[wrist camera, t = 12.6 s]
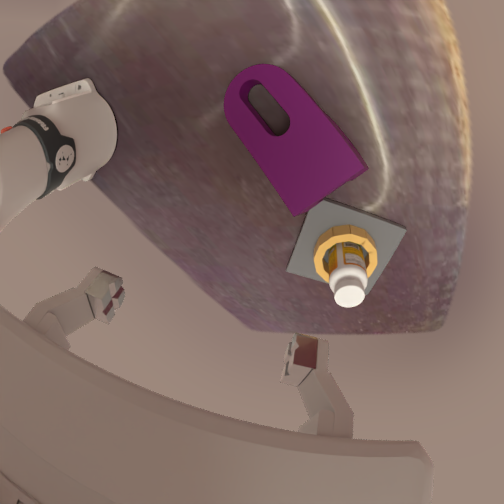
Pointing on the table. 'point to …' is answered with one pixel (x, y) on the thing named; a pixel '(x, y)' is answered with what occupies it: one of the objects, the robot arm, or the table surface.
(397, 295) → the table surface
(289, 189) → the mounting bracket
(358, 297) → the supplement bottle
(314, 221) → the plate
